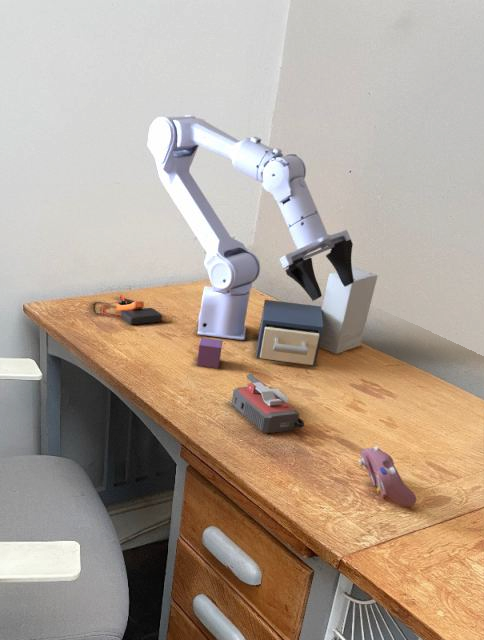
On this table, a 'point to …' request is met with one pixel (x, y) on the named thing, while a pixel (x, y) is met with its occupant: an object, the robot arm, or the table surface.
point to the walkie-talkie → (265, 407)
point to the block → (209, 353)
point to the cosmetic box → (346, 310)
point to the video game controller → (386, 476)
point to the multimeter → (135, 312)
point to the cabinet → (290, 319)
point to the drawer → (289, 344)
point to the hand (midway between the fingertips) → (333, 291)
